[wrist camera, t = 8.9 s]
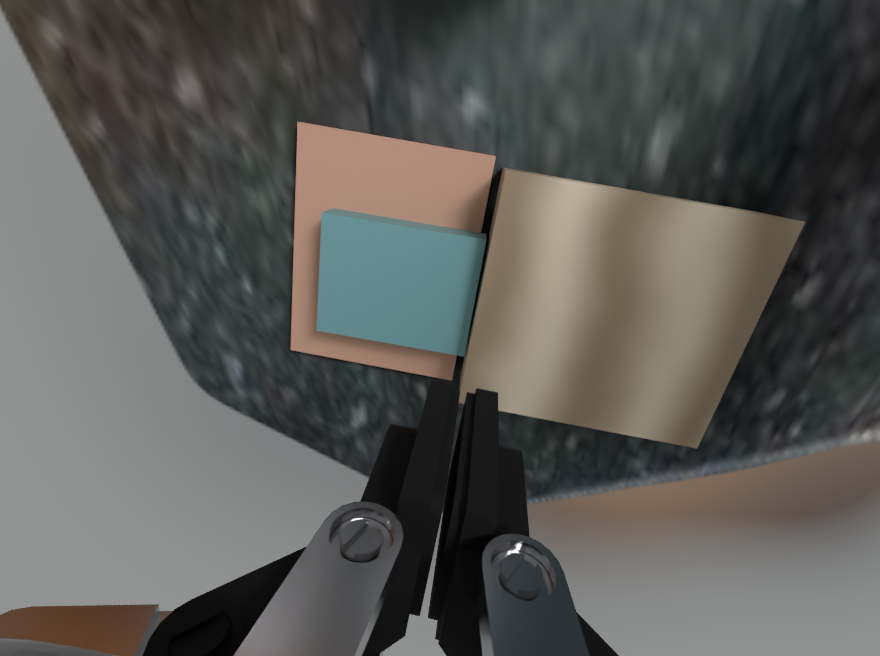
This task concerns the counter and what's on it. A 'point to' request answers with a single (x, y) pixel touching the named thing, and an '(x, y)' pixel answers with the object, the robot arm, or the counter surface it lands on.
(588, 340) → the platform
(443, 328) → the tile
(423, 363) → the mat
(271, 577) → the robot arm
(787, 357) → the counter surface
